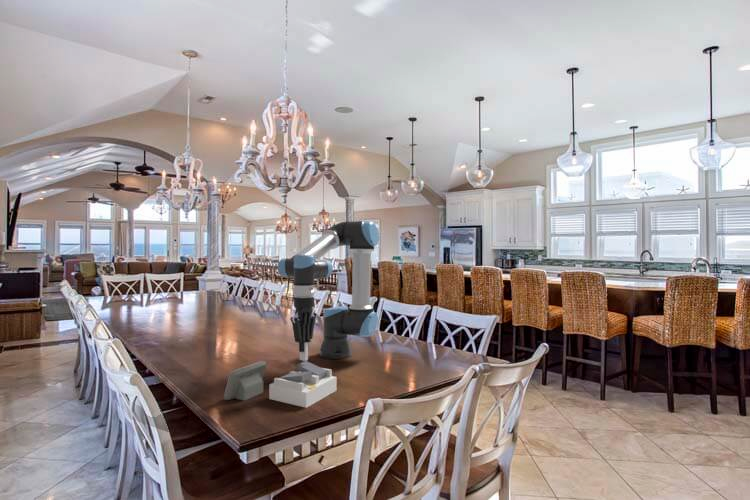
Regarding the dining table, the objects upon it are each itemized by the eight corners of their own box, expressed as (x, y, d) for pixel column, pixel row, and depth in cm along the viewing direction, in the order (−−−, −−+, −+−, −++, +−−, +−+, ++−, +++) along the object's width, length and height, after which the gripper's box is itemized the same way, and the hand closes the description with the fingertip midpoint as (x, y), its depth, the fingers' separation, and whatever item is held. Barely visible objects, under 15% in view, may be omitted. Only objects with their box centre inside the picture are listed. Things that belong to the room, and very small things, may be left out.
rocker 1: (280, 384, 140) (279, 377, 141) (290, 379, 145) (289, 373, 145) (302, 382, 136) (301, 375, 136) (312, 377, 141) (311, 371, 141)
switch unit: (269, 398, 141) (269, 377, 140) (301, 383, 156) (301, 364, 156) (306, 407, 133) (306, 385, 133) (336, 390, 149) (336, 370, 149)
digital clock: (259, 386, 153) (259, 358, 153) (273, 391, 147) (273, 362, 147) (218, 398, 141) (218, 367, 141) (231, 405, 135) (231, 373, 135)
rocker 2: (295, 370, 149) (296, 364, 148) (304, 366, 153) (306, 360, 153) (317, 380, 144) (318, 374, 144) (326, 376, 149) (327, 370, 149)
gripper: (301, 299, 142) (300, 365, 143) (322, 295, 154) (322, 357, 154) (284, 297, 146) (284, 362, 146) (306, 294, 157) (306, 354, 158)
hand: (303, 359), depth 150 cm, fingers closed
